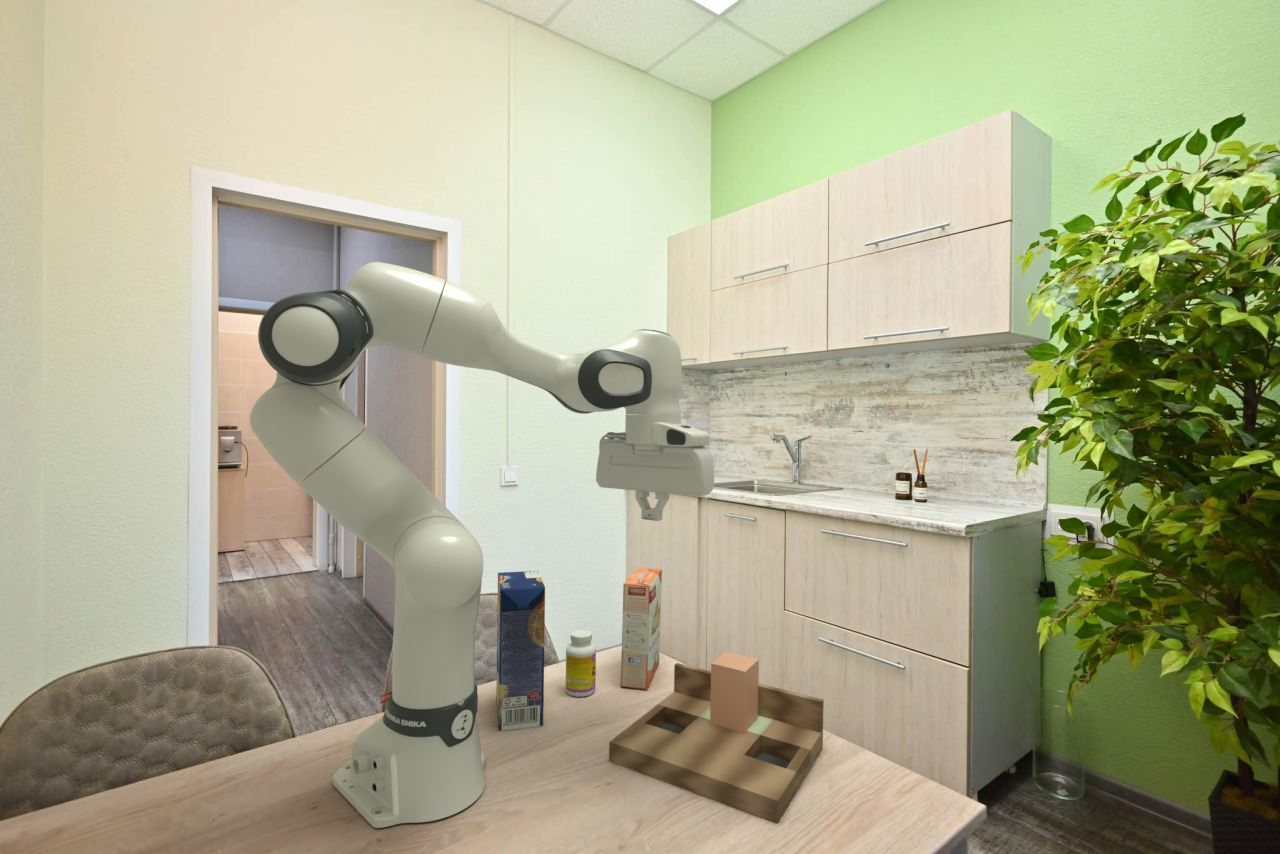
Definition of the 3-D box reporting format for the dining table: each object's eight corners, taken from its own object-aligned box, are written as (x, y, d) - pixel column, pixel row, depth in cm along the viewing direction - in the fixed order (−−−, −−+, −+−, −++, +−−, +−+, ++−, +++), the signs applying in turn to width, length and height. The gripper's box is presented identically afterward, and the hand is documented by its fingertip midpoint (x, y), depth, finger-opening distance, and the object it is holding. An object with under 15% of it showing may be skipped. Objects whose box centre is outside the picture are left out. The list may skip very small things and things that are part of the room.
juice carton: (543, 726, 106) (545, 587, 105) (498, 731, 104) (500, 590, 103) (536, 695, 117) (538, 570, 117) (496, 699, 115) (497, 572, 115)
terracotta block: (710, 723, 102) (711, 663, 101) (724, 709, 107) (725, 651, 107) (744, 733, 98) (745, 671, 98) (757, 718, 103) (758, 659, 103)
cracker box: (649, 691, 120) (651, 584, 120) (619, 688, 121) (621, 582, 121) (661, 663, 134) (663, 567, 133) (634, 660, 135) (635, 566, 135)
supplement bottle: (596, 697, 117) (597, 638, 117) (565, 698, 116) (566, 639, 116) (594, 684, 123) (595, 627, 123) (565, 685, 122) (566, 628, 122)
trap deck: (609, 760, 95) (609, 709, 95) (676, 705, 114) (677, 662, 114) (777, 823, 81) (778, 763, 81) (822, 748, 100) (823, 699, 100)
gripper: (589, 431, 101) (587, 515, 101) (701, 435, 90) (699, 529, 90) (610, 431, 106) (609, 511, 106) (719, 434, 95) (717, 523, 96)
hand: (651, 519), depth 98 cm, fingers closed
